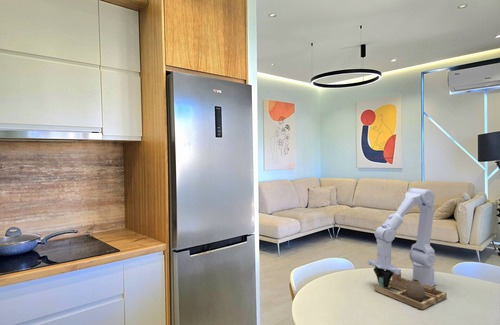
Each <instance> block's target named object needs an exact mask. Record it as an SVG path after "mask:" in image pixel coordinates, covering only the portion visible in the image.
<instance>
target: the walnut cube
mask: <svg viewBox="0 0 500 325" xmlns="http://www.w3.org/2000/svg"><path fill="white" fill-rule="evenodd" d="M422 287H423V288H424V291H425V292H427V293H430V294H433V295H435V294H436V290H437V289H436V286H430V285H427V284H425V285H422ZM435 296H436V295H435Z"/></svg>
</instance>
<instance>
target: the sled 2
mask: <svg viewBox="0 0 500 325" xmlns="http://www.w3.org/2000/svg"><path fill="white" fill-rule="evenodd" d="M390 281H391V282H394V283H396V284H399V285H402V286H405V287H407V285H408V284H409V283H410V282H411V281H412V280H409V279H406V278H403V277H402V273H401V274H399V275H398V274H396V273H394V274H393V275H392V277H391V279H390ZM421 285H422V284H421ZM425 294H427V295H430V296H432V297H435V298H436V303H439V302H441V301H443V300H445V299H447V292H444V291H442V290H439V289H436V294H435V295H433V294H430V293H427V292H425Z"/></svg>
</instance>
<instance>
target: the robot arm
mask: <svg viewBox="0 0 500 325" xmlns="http://www.w3.org/2000/svg"><path fill="white" fill-rule="evenodd" d="M404 196H405V198H404V199H403V200H402V202H401V204H400V205H399V207H398V209H396V211H395V212H394V213H391V214H389V215H388V217H387V218H386V220H385V221H384V222H383V224H381V226H378V227H377V228H376V229H375V231H374V236H375V238H376V240H375V241H376V244H377V246H376V260H373V259H369V260H368V261H367V263H368V264H367V265H368V266H373V271H374V273H375V275H376V279H377V282H378V284H379V277H381V276H383V277H384V287H388V285H389V282H390V280H392V275H393V274H394V273H396V274H398V275H399V274H401V275H402V271H401V270H402V269H401V268H398V267H396V266H394V265H393V264H392V242H393V240H395V237H396V234H397V230H398V229H399V228H400V226H401V225H402V224H403V222H404V220H403V219H404V217H405V216H406V214H407V213H408V212H409V211H411V209H412V208H413V207H414V206H417V207H418V208H419V216H418V226H417V235H416V242H415V243H413V244H412V245H411V249H410V250H409V253H408V255H409V260H411V263H412V279H417V280H419V282H420V284H422V285H425V284H427V285H430V286H433V287H435V286H436V285H437V283H436V282H435V267H434V265H435V263H436V260H437V258H436V254H435V249H434V248H433V247H432V246H431V238H432V230H433V223H434V222H433V221H434V220H433V219H434V211H435V193H434V192H433V191H432V190H431V189H428V188H427V189H424V188H417V187H409V189H408V190H407V191H406V192H405V194H404Z"/></svg>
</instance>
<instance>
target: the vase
mask: <svg viewBox="0 0 500 325" xmlns="http://www.w3.org/2000/svg"><path fill="white" fill-rule="evenodd" d="M410 281H411V282H410V283H409V284H408V285H407V287H406V296H405V297H408V298H410V299H413V300H415V301H418V302H420V303H421V302H423V301H425V300H424V299H425V291H424V288H423V287H422V285H421V284H420V282H419V280H417V279H413V278H412V279H411V280H410Z"/></svg>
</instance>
